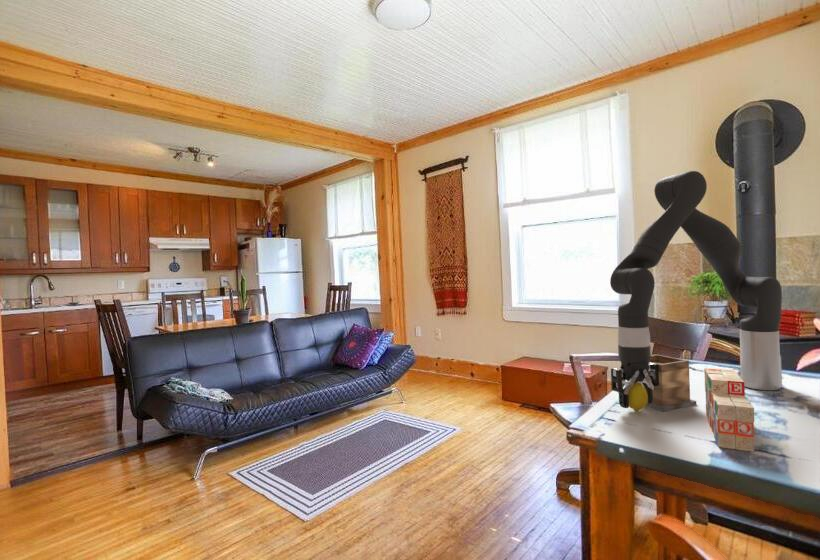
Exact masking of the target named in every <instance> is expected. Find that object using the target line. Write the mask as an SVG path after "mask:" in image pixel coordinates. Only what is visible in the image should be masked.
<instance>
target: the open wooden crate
mask: <svg viewBox="0 0 820 560" xmlns="http://www.w3.org/2000/svg"><path fill="white" fill-rule="evenodd" d="M650 363H654V364H658V374H659V385H658V386H655V387H654V389H653V390H652V393H653V400H652V403H650V404H648V403H647V405H646V407H647V408H648V407H649V408H652V409H654V410H658V411H660V412H668V411H672V410H673V411H674V410H677V409H683V408H687V407H691V406H692V407H693V406H696V405H698V404H697V400H695V399H691V389H690V386H691V385H690V360H686V359H682V358H677V357H672V356H666V355H662V354H651V361H650ZM652 380H653V381H654V377H652ZM637 383H639V384H641V382H637ZM641 385H642V384H641Z"/></svg>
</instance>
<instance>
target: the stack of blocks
mask: <svg viewBox="0 0 820 560" xmlns="http://www.w3.org/2000/svg"><path fill="white" fill-rule="evenodd" d="M703 373H704V391H705V412H706V418H707V419H706V420H707V422H708V425H709V427H710V429H711V431H712V433H713V438H714V439H715V440H714V441H715V443H716V445H717V447H718V448H724V449H731V450H739V451H745V452H752V453H754V452H755V407H754V406H753V405H752V403H751V401H750V400H749V399H748V398H747V396H746V394H745V393H746V390H745V388H746V387H745V386H744V381H743V380H742V379H741V376H740V375H739V374H738V373H737V371H736V369H726V368H725V369H724V368H720V369H719V368H704V370H703Z"/></svg>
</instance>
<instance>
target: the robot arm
mask: <svg viewBox="0 0 820 560" xmlns="http://www.w3.org/2000/svg"><path fill="white" fill-rule="evenodd" d="M707 186H708V185H707V180H706V178H705V176H704V175H703V174H702V173H701V172H700V171H697V170H689V171H684V172H681V173H677V174H672V175H670V176H666V177H664V178H661V179H660V180H657V182H656V183H655V186H654V189H653V190H654V197H655V199H656V201H657V203H658V204H659V206H660V207H661V208H662V209H663V210H664V212H663V213H662V214H661V215H660V216H659V217H658V218H656V219H655V220H654V221H653V222H652V223H651V224H649V225H648V226H647V227H646V228H645V230H644V231H643V232H642V233H641V234H640V236H639V238H638V239H637V241H636V243H635V245H634V247H633V249H632V251H631V252H630V253H628V255H627V256H626V257H624V259H623V260H622V261H620V263H618V265H617V266H616V267H615V269H614V270H613V272H612V273H611V276H610V279H609V281H610V289H611V290H612V291H613V292H615V293H616V294H620V295H630V299H629V302H627V303H622V304H620V305H619V306H618V309H617V316H618V317H617V319H618V320H617V321H618V327H617V350H618V360H619V361H620V363H621V364H620V367H619V368H614V367H612V368H611V369H610V383H611V384H610V385H611V387H610V388H611V391H613V392H617V393H618V404H619V405H620V407H622V408H623V409H628V408H630V407H629V396H628V394H627V393H628V391H629V389H630V387H632V386H633V384H634V383H637V382H641V384H642V386H643V387H644V388H645V389H646V391H647V395H648V404H650V403H652V400H653V393H652V390H653V389H654V387H655V386H658V385H659V374H658V364H654V363H650V361H651V355H652V354H651V353H652V351H651V335H650V334H651V333H650V328H649V309H650V305H651V301H652V297H653V293H654V291H655V286H656V285H655V283H656V282H655V277H654V275H653V273H652V271H650V270H649V269H652V268H655V267H656V266H657V265H658V264H659V263H660V260H661V259H662V257H663V255H664V253H665V251H666V250H667V248H668V246H669V244H670V242H671V240H672V239H673V237H674V236H675V235H676V234H677V232H678V230H679V229H680V228H681V229H683V231H684V233H685V234H686V235H687V236H688V237H689V238H690V240H691V241H692V242H693V244H694V245H695V247H696V248H697V249H698V251H699V252H700V254H702V256H703V257H704V258H705V260H706V261H707V262H708V263H709V265H711V267H712V269H713V270H714V271H715V272H716V274H717V276H718V277H719V278H720V280H721V282H722V284H723V285H724V287H725V288H726V290H727V292H728V294H729V296H730V298H731V299H732V300H733V301H734V303H735V304H736V305H739V306H741V307H747V308H756V313H755V314H754V315H752V316H750V317H746V318H743V319H740V321H739V322H738V323H739V347H740V348H739V349H740V350H739V353H740V355H739V356H740V378H741V379H742V380H743V381H744V387H745V388H749V389H754V390H762V391H778V389H779V390H781V389H782V386H783V384H782V383H783V377H782V376H783V374H782V372H783V371H782V370H783V369H782V355H781V352H780V325H781V324H780V323H781V321H782V303H783V300H782V299H783V292H782V285H781V284H780V281H779V280H778V279H777V278H775V277H772V276H748V275H746V274H745V273H744V271H742V270H741V268H740V266H739V261H740V257H741V254H742V253H741V252H742V246H741V242H739V239H738V238H737V237H736V235H735V233H734V232H733V231H732V230H731V229H730V227H729V226H728V225H727V224H725V223H724V222H722V221H720V220H718V219H717V218H714V217H712V216H710V215H708V214H705V213H704V212H702V211H700V210H699V209H697V207H698V205H700V203H701V202H702V200H703V199H704V198H705V195H706V193H707V188H708V187H707ZM652 377H654V381H653V380H652Z"/></svg>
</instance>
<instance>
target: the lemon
mask: <svg viewBox="0 0 820 560" xmlns="http://www.w3.org/2000/svg"><path fill="white" fill-rule="evenodd" d="M627 394H628V396H629V408H630V409H632V410H633V411H634V412H636V413H638V412H639V411H640V410H643V409H644V408H646V407H647V406H646V405H647V403H648V395H647V391H646V389H645V388H644V387H643V386H642V385H641V384H639V383H634V384H633V386H632V387H630V389H629V391H628V393H627Z"/></svg>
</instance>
